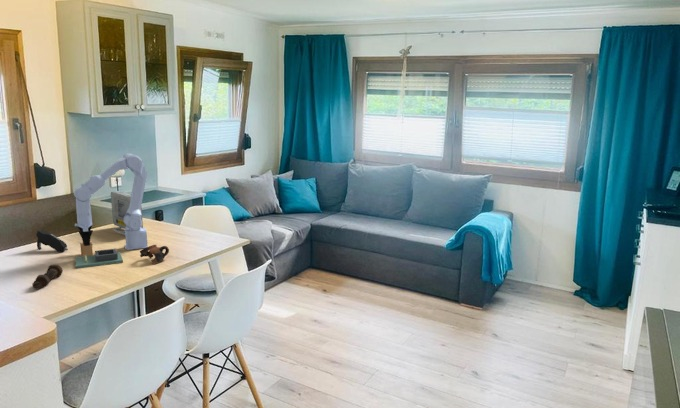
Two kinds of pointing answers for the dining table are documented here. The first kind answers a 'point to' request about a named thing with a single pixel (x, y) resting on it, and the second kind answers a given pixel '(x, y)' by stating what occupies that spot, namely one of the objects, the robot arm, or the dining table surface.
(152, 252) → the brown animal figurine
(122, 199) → the network device
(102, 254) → the header board
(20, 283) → the dining table surface
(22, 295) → the dining table surface
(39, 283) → the bolt
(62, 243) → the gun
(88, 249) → the plug
